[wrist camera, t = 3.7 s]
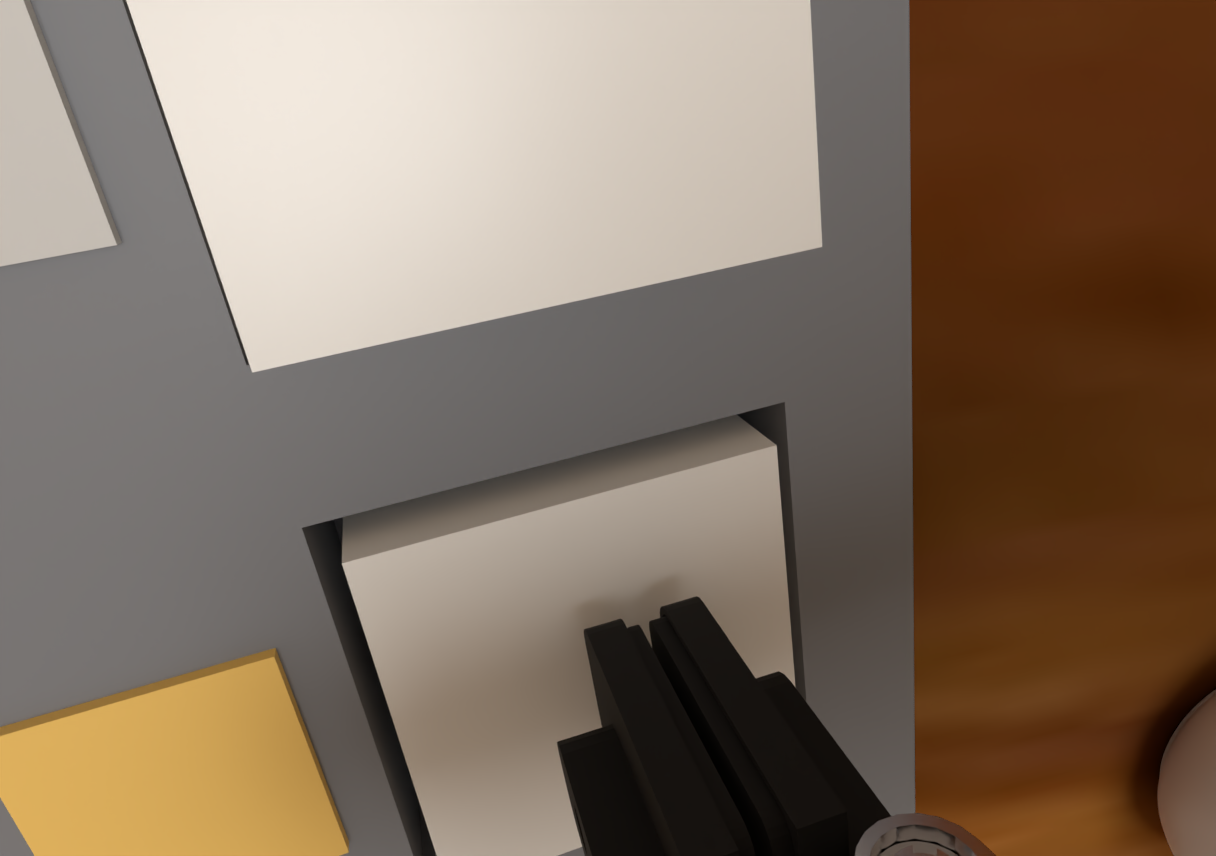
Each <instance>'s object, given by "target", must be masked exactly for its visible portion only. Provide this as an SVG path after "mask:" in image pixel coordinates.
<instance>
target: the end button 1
mask: <svg viewBox="0 0 1216 856" xmlns="http://www.w3.org/2000/svg"><path fill="white" fill-rule="evenodd" d="M342 566H343V569H344V572H345V575H346V578H347V581H348V584H349V587H350V590H351V593H352V597H353V600H354V603H355V606H356V609H357V612H358V615H359V618H360V621H361V624H362V627H363V630H364V634H365V637H366V640H367V643H368V646H369V649H370V652H371V655H372V658H373V661H374V664H375V667H376V670H377V674H378V677H379V680H380V683H381V686H382V689H383V692H384V695H385V698H386V701H387V704H388V707H389V711H390V714H391V717H392V720H393V723H394V726H395V729H396V732H397V735H398V738H399V741H400V744H401V748H402V751H403V754H404V757H405V760H406V763H407V766H408V769H409V772H410V775H411V778H412V781H413V784H414V788H415V791H416V794H417V797H418V800H419V803H420V806H421V809H422V812H423V815H424V818H425V821H426V825H427V828H428V831H429V834H430V837H431V840H432V843H433V846H434V849H435V852H436V855H437V856H558V855H561V854H563V853H566V852H569V851H572V850H574V849H577V848H580V847H582V844H581V840H580V837H579V833H578V830H577V826H576V822H575V818H574V814H573V811H572V807H571V803H570V799H569V795H568V791H567V786H566V782H565V778H564V773H563V769H562V765H561V760H560V756H559V751H558V746H557V742H558V741H561V740H564V739H567V738H570V737H573V736H577V735H580V734H583V733H586V732H589V731H592V730H595V729H599V728H602V725H601V720H600V715H599V710H598V705H597V700H596V695H595V690H594V684H593V679H592V674H591V669H590V664H589V659H588V654H587V649H586V644H585V639H584V629H587V628H590V627H594V626H597V625H600V624H604V623H607V622H611V621H614V620H617V619H622V620H623V621H624V623H625V625H626V627H627V628H628V627H631V626H634V625H640V627H641V628H642V630H643V632H644V634H645V636H646V638H647V640H648V641H649V643H650V645H651V647H652V643H651V637H650V631H649V622H650V621H651V620H655V619H658V618H660V608H661V607H662V606H665V605H668V604H672V603H675V602H679V601H682V600H685V599H689V598H692V597H696V596H697V597H700V599H701V600H702V601H703V602H704V604H705V605H706V607H707V608H708V610H709V611H710V613H711V614H712V616H713V617H714V618H715V620H716V621H717V623H718V624H719V626H720V627H721V629H722V630H723V632H724V633H725V634H726V636H727V637H728V639H729V640H730V642H731V643H732V645H733V646H734V648H735V649H736V650H737V652H738V653H739V655H740V656H741V658H742V659H743V661H744V662H745V664H746V665H747V666H748V668H749V669H750V671H751V672H752V674H753V675H754V677H755V678H759V677H762V676H765V675H768V674H771V673H774V672H778V671H779V672H781V673H783V674H785V675H786V677H787V678H788V679H789V680H790V681H791V682H792V684H793V685H794V686H795V674H794V662H793V649H792V636H791V623H790V610H789V598H788V585H787V572H786V559H785V546H784V534H783V521H782V508H781V495H780V482H779V470H778V457H777V445H776V444H774V443H773V442H772V441H770V440H769V439H768V438H766V437H765V436H764V435H763V434H761V433H760V432H759V431H757V430H756V429H755V428H753V427H752V426H751V425H749V424H748V423H747V422H746V421H744V420H743V419H742V418H740V417H739V416H738V415H733V416H729V417H725V418H721V419H717V420H713V421H710V422H706V423H702V424H698V425H694V426H690V427H687V428H683V429H679V430H675V431H671V432H667V433H663V434H660V435H656V436H652V437H648V438H644V439H640V440H637V441H633V442H629V443H625V444H621V445H617V446H614V447H610V448H606V449H602V450H598V451H594V452H591V453H587V454H583V455H579V456H575V457H571V458H568V459H564V460H560V461H556V462H552V463H548V464H545V465H541V466H537V467H533V468H529V469H525V470H522V471H518V472H514V473H510V474H506V475H502V476H499V477H495V478H491V479H487V480H483V481H479V482H476V483H472V484H468V485H464V486H460V487H456V488H453V489H449V490H445V491H441V492H437V493H433V494H430V495H426V496H422V497H418V498H414V499H410V500H407V501H403V502H399V503H395V504H391V505H387V506H384V507H380V508H376V509H372V510H368V511H364V512H360V513H357V514H353V515H349V516H345V517H343V536H342ZM795 688H796V687H795Z"/></svg>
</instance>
